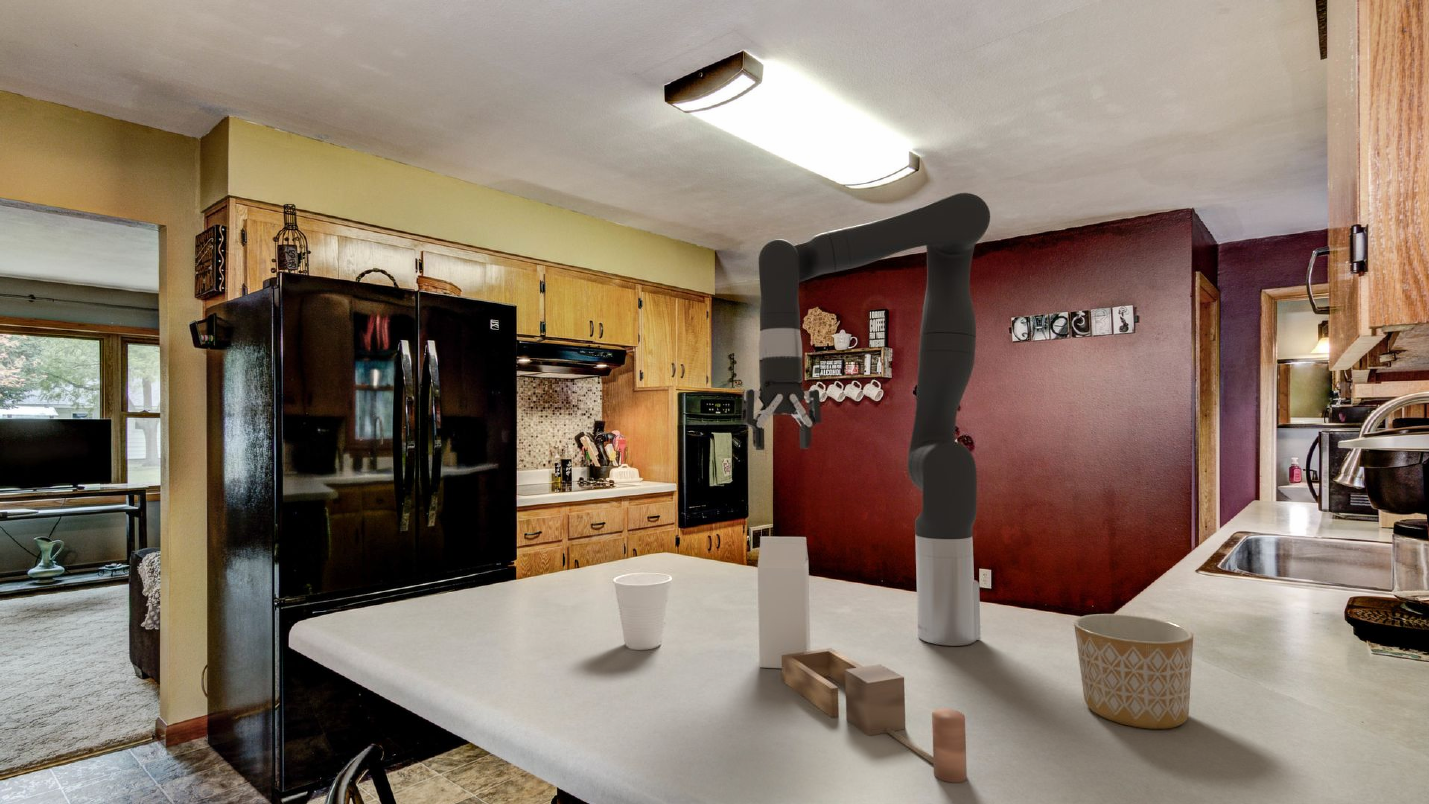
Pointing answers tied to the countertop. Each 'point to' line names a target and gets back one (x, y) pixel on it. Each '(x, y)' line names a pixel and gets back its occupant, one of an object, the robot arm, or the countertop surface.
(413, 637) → the countertop surface
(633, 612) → the cup
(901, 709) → the tethered walnut block
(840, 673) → the frame
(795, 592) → the milk carton
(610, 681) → the countertop surface
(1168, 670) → the planter
